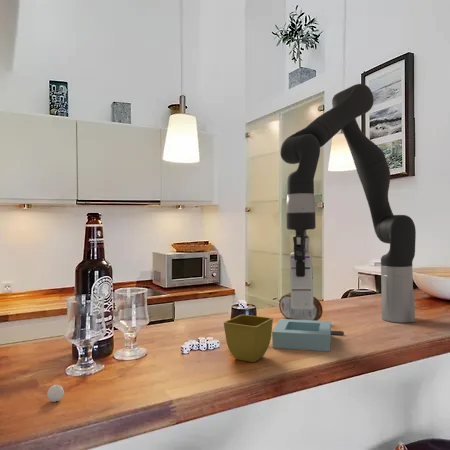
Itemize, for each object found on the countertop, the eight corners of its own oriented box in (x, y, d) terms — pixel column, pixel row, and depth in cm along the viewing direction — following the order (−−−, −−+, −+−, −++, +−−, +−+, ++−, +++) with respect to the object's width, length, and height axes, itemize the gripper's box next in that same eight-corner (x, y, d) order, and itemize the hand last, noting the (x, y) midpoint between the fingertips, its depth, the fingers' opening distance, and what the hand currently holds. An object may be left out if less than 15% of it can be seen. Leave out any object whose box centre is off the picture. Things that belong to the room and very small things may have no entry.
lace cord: (344, 334, 111) (344, 330, 111) (344, 335, 110) (344, 331, 110) (276, 330, 117) (276, 327, 117) (275, 331, 116) (275, 328, 116)
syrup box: (313, 309, 102) (312, 253, 102) (290, 309, 103) (289, 253, 103) (313, 305, 108) (312, 251, 108) (291, 304, 109) (290, 251, 109)
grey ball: (45, 400, 73) (45, 384, 73) (62, 396, 74) (62, 380, 74) (49, 406, 70) (49, 389, 70) (66, 401, 72) (66, 385, 72)
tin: (323, 323, 124) (322, 296, 124) (318, 325, 122) (317, 297, 122) (283, 316, 135) (282, 291, 135) (277, 318, 132) (277, 292, 132)
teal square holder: (331, 335, 110) (330, 321, 110) (329, 351, 97) (329, 335, 97) (280, 332, 114) (280, 318, 114) (272, 347, 101) (272, 331, 101)
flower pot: (257, 367, 87) (256, 326, 87) (223, 360, 92) (222, 321, 92) (274, 355, 95) (273, 317, 95) (242, 350, 99) (241, 314, 99)
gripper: (313, 210, 98) (314, 279, 98) (316, 211, 111) (317, 272, 112) (282, 211, 100) (283, 278, 100) (289, 212, 114) (290, 271, 114)
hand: (301, 274), depth 106 cm, fingers closed on syrup box, 6 cm apart
